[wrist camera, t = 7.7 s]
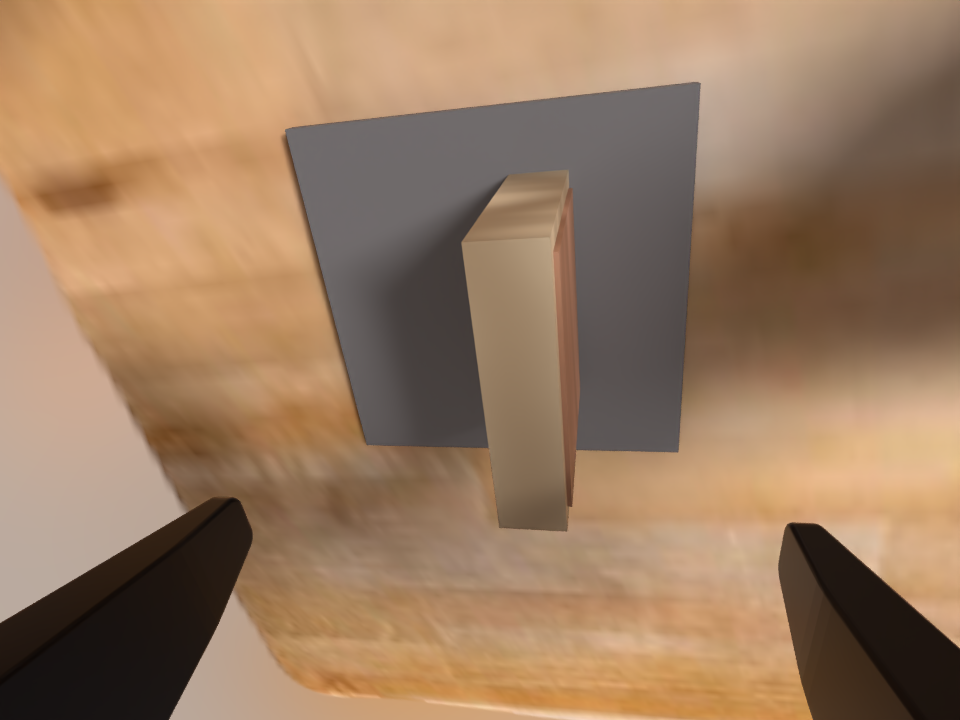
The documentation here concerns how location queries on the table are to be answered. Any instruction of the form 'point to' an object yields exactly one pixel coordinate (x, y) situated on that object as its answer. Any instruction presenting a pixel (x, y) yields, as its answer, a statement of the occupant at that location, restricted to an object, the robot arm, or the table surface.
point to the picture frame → (527, 345)
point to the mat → (440, 265)
